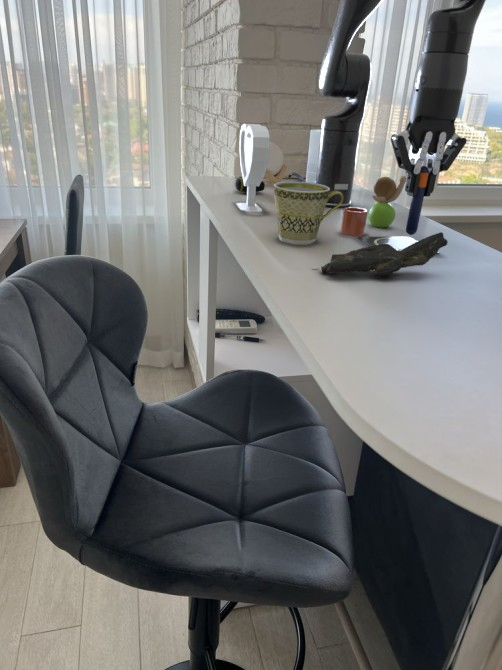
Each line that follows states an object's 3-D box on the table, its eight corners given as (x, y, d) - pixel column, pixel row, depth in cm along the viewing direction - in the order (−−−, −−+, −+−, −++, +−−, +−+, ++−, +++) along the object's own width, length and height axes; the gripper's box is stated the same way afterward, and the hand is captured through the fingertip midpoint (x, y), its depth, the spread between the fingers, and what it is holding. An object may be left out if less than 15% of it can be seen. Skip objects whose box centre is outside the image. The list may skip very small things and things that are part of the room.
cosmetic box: (323, 183, 153) (329, 128, 146) (340, 187, 149) (347, 130, 142) (304, 185, 148) (309, 128, 141) (320, 189, 144) (326, 131, 137)
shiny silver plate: (356, 239, 97) (357, 236, 97) (408, 239, 100) (409, 235, 99) (382, 257, 88) (383, 253, 87) (439, 256, 90) (439, 252, 90)
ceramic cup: (275, 248, 89) (280, 191, 85) (265, 233, 98) (269, 180, 93) (346, 249, 91) (354, 192, 87) (329, 234, 100) (336, 182, 95)
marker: (402, 233, 93) (415, 164, 87) (412, 232, 93) (426, 165, 88) (408, 236, 91) (421, 166, 86) (418, 236, 91) (432, 167, 86)
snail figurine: (398, 232, 104) (409, 172, 99) (366, 229, 105) (375, 169, 100) (396, 226, 109) (407, 168, 103) (366, 223, 110) (375, 166, 104)
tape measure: (265, 194, 134) (266, 179, 132) (242, 195, 130) (243, 180, 129) (252, 189, 139) (253, 175, 137) (230, 190, 136) (231, 176, 134)
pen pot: (337, 232, 102) (340, 207, 100) (358, 231, 103) (361, 207, 101) (345, 238, 98) (349, 212, 96) (367, 237, 99) (371, 212, 97)
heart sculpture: (234, 201, 123) (237, 121, 115) (254, 201, 124) (258, 122, 116) (246, 216, 110) (250, 127, 102) (268, 216, 111) (274, 128, 103)
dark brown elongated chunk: (329, 297, 76) (453, 271, 78) (329, 266, 73) (458, 239, 75) (317, 277, 81) (433, 253, 83) (316, 247, 78) (437, 222, 80)
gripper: (463, 88, 86) (441, 191, 94) (389, 83, 83) (372, 191, 91) (491, 89, 80) (465, 200, 87) (412, 84, 76) (392, 199, 84)
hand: (418, 195), depth 89 cm, fingers closed on marker, 2 cm apart
